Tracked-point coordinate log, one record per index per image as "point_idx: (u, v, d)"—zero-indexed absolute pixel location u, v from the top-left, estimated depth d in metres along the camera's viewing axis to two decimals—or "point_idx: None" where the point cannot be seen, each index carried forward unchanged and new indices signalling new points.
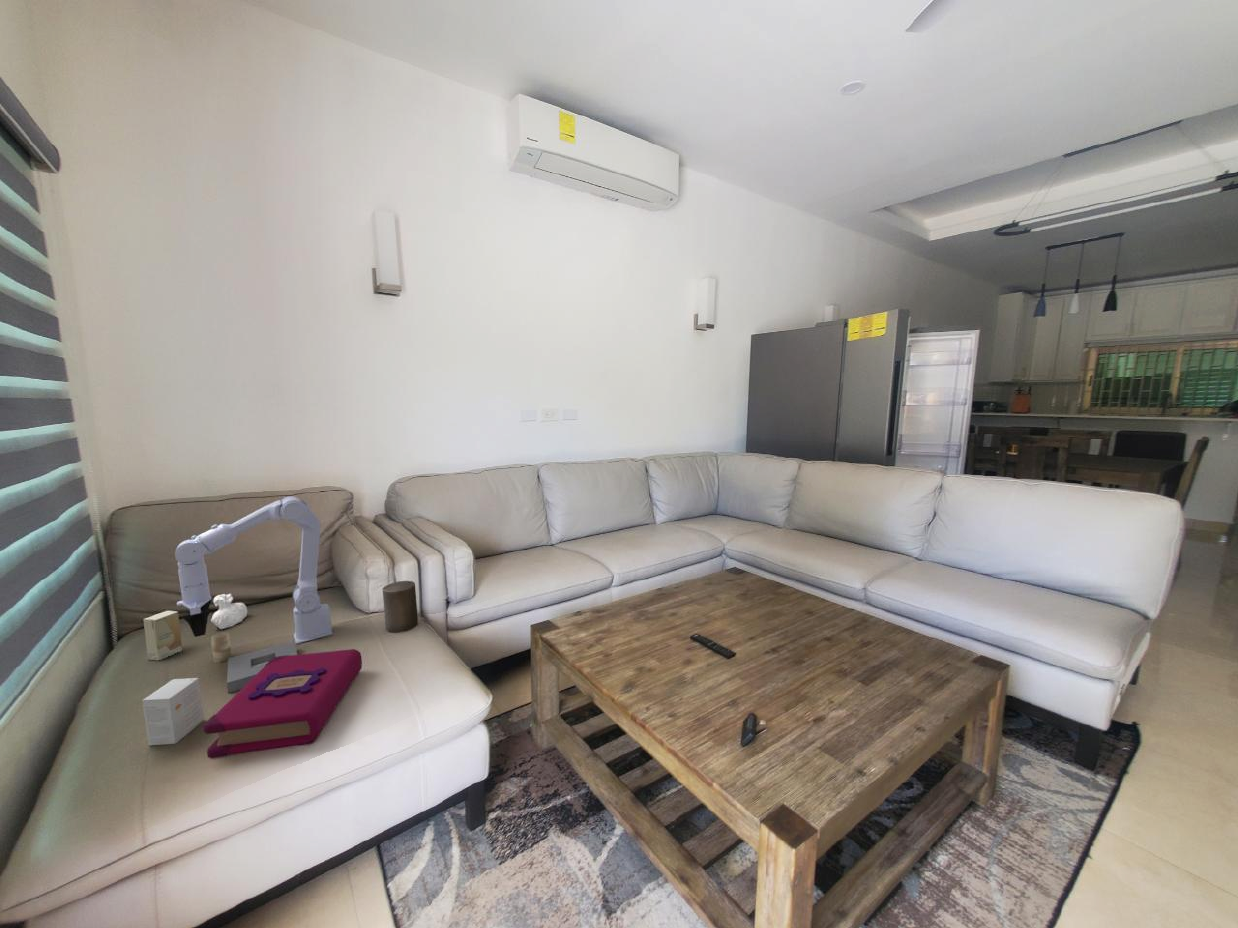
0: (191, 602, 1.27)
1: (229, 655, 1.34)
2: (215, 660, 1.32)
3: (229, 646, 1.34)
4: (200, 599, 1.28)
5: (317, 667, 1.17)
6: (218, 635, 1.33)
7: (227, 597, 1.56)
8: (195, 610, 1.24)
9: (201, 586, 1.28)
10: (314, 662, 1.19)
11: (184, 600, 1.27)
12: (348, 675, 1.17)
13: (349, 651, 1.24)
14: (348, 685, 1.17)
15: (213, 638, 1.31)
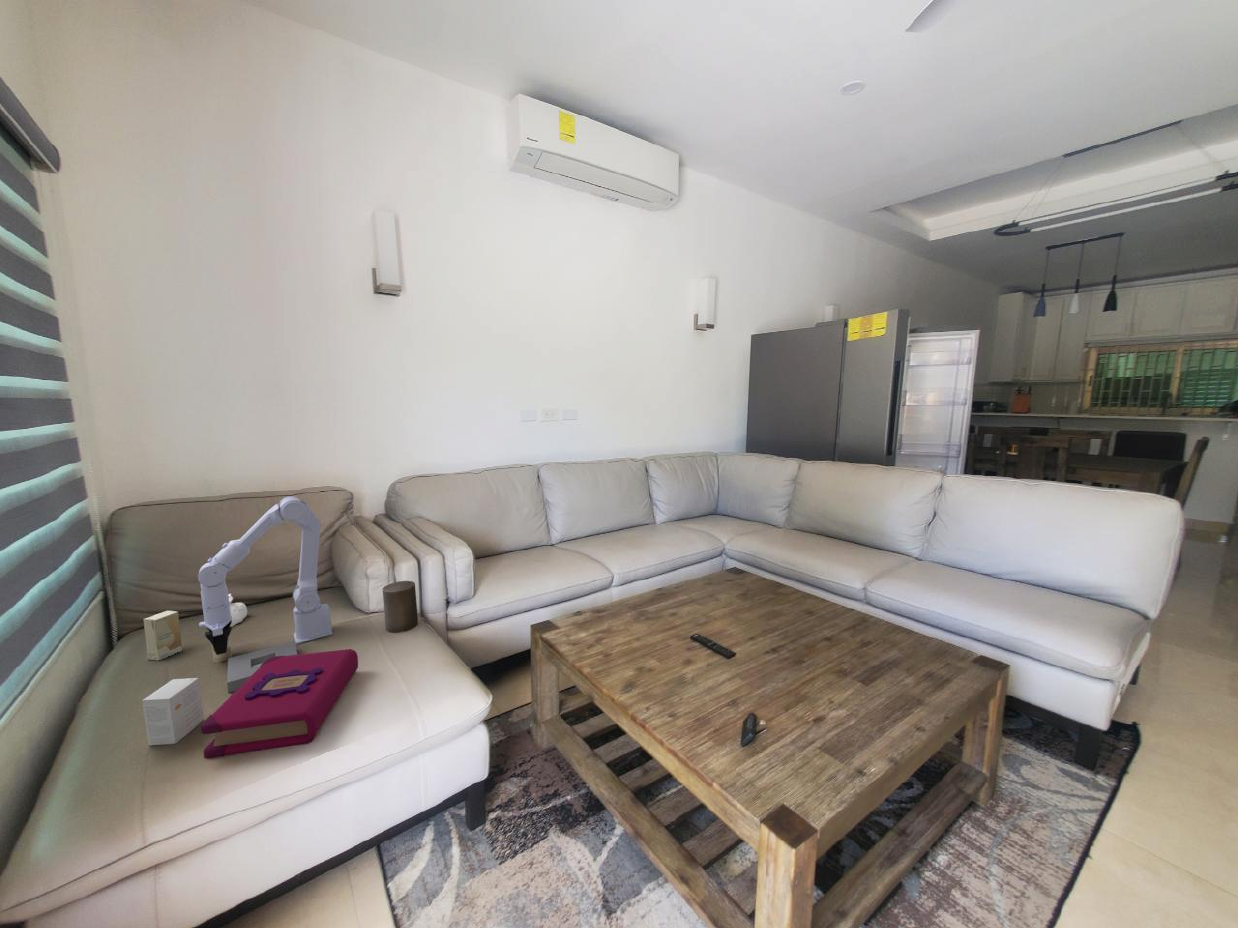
0: (213, 623, 1.30)
1: (229, 655, 1.34)
2: (215, 660, 1.32)
3: (229, 646, 1.34)
4: (222, 620, 1.31)
5: (314, 667, 1.16)
6: None
7: None
8: (217, 632, 1.27)
9: (223, 607, 1.31)
10: (310, 662, 1.19)
11: (206, 621, 1.30)
12: (345, 674, 1.17)
13: (345, 651, 1.24)
14: (345, 685, 1.17)
15: None
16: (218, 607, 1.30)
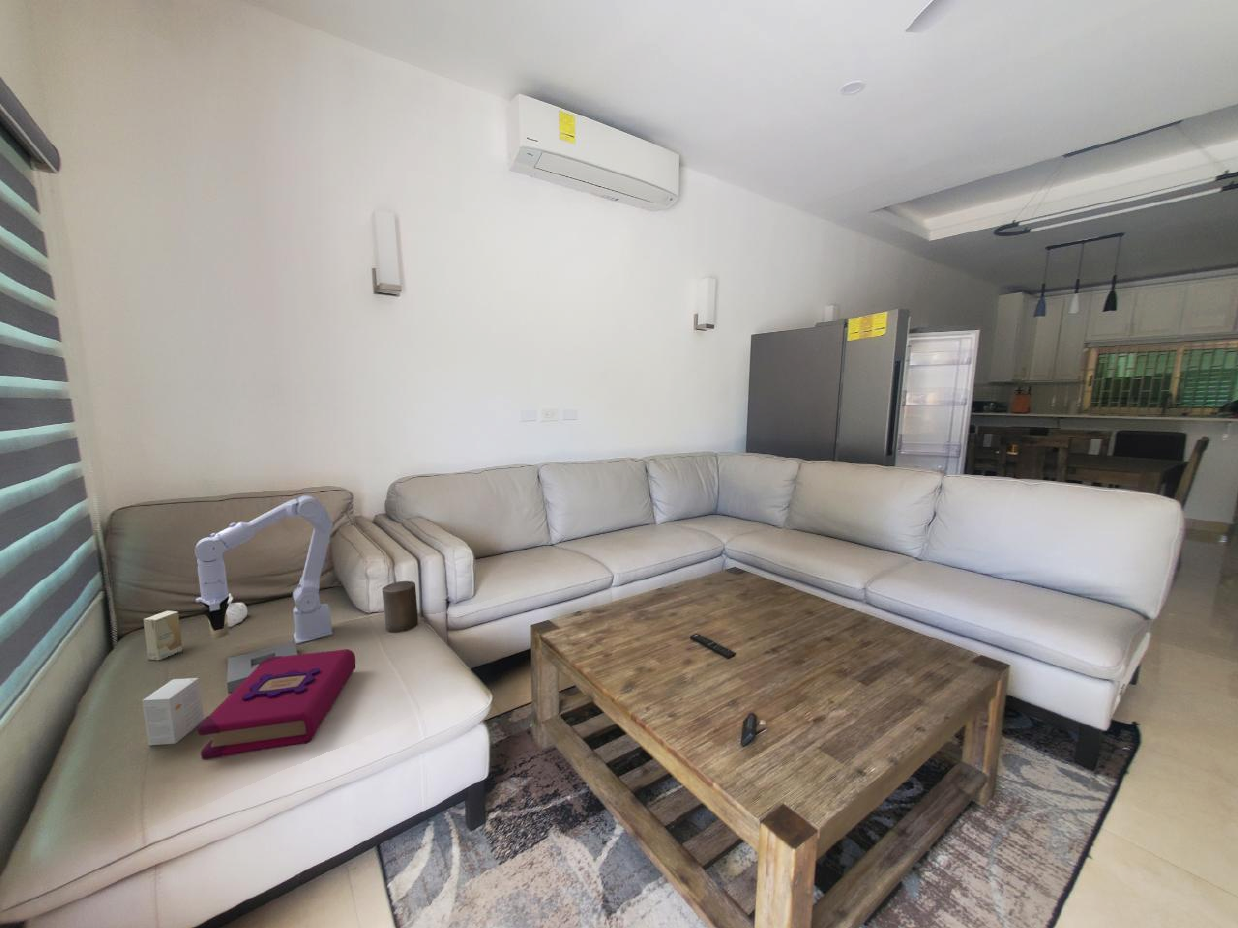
0: (210, 598, 1.29)
1: (226, 631, 1.33)
2: (212, 636, 1.31)
3: (226, 622, 1.33)
4: (219, 596, 1.30)
5: (311, 667, 1.16)
6: None
7: None
8: (214, 607, 1.26)
9: (220, 583, 1.30)
10: (307, 662, 1.19)
11: (203, 596, 1.29)
12: (342, 674, 1.17)
13: (342, 651, 1.24)
14: (342, 685, 1.17)
15: None
16: (215, 582, 1.29)
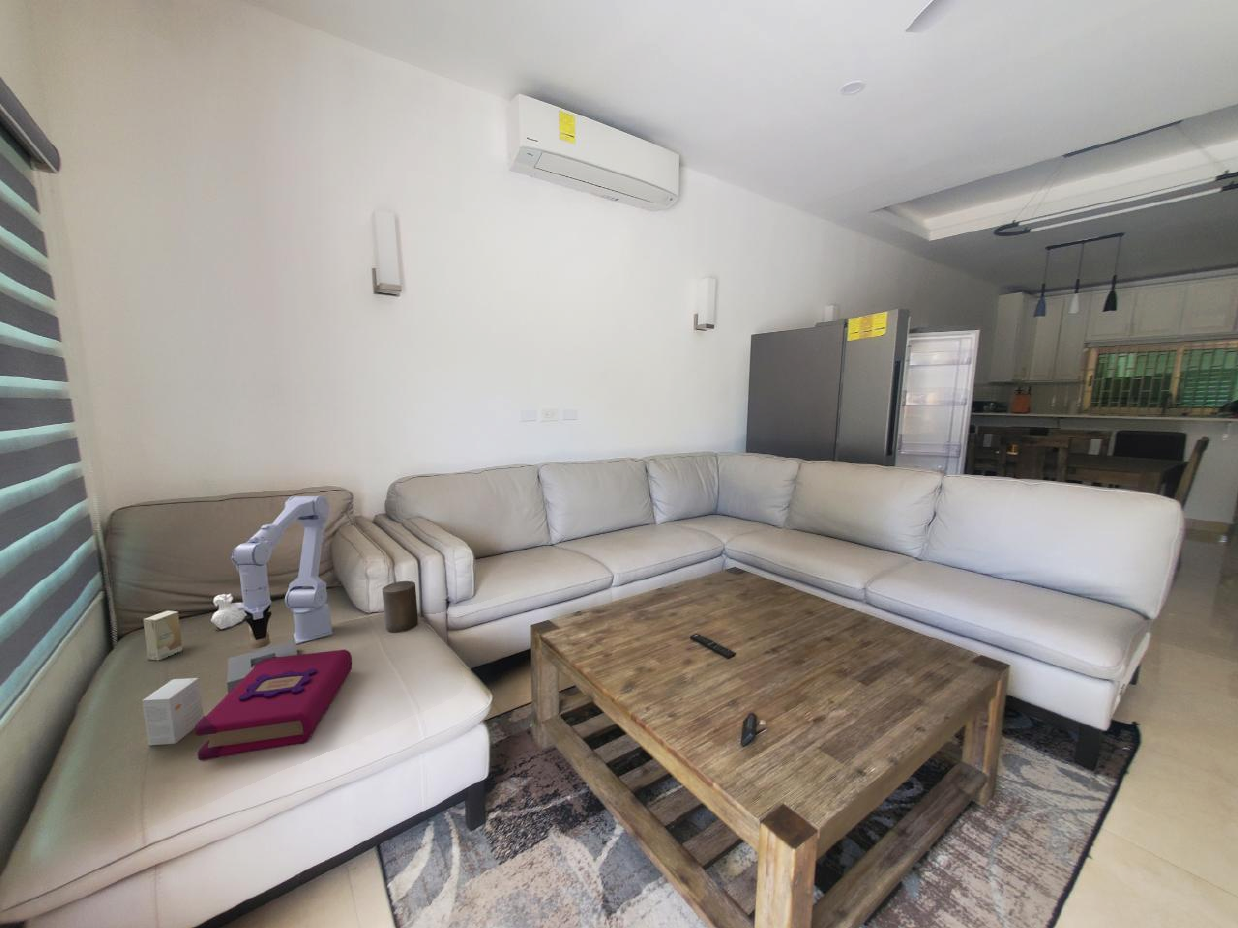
0: (252, 606, 1.23)
1: (267, 640, 1.27)
2: (253, 646, 1.25)
3: (267, 631, 1.27)
4: (261, 603, 1.24)
5: (308, 668, 1.16)
6: None
7: (227, 597, 1.56)
8: (257, 615, 1.20)
9: (262, 590, 1.24)
10: (304, 663, 1.19)
11: (245, 604, 1.23)
12: (339, 675, 1.17)
13: (339, 652, 1.24)
14: (339, 685, 1.17)
15: None
16: (258, 589, 1.23)
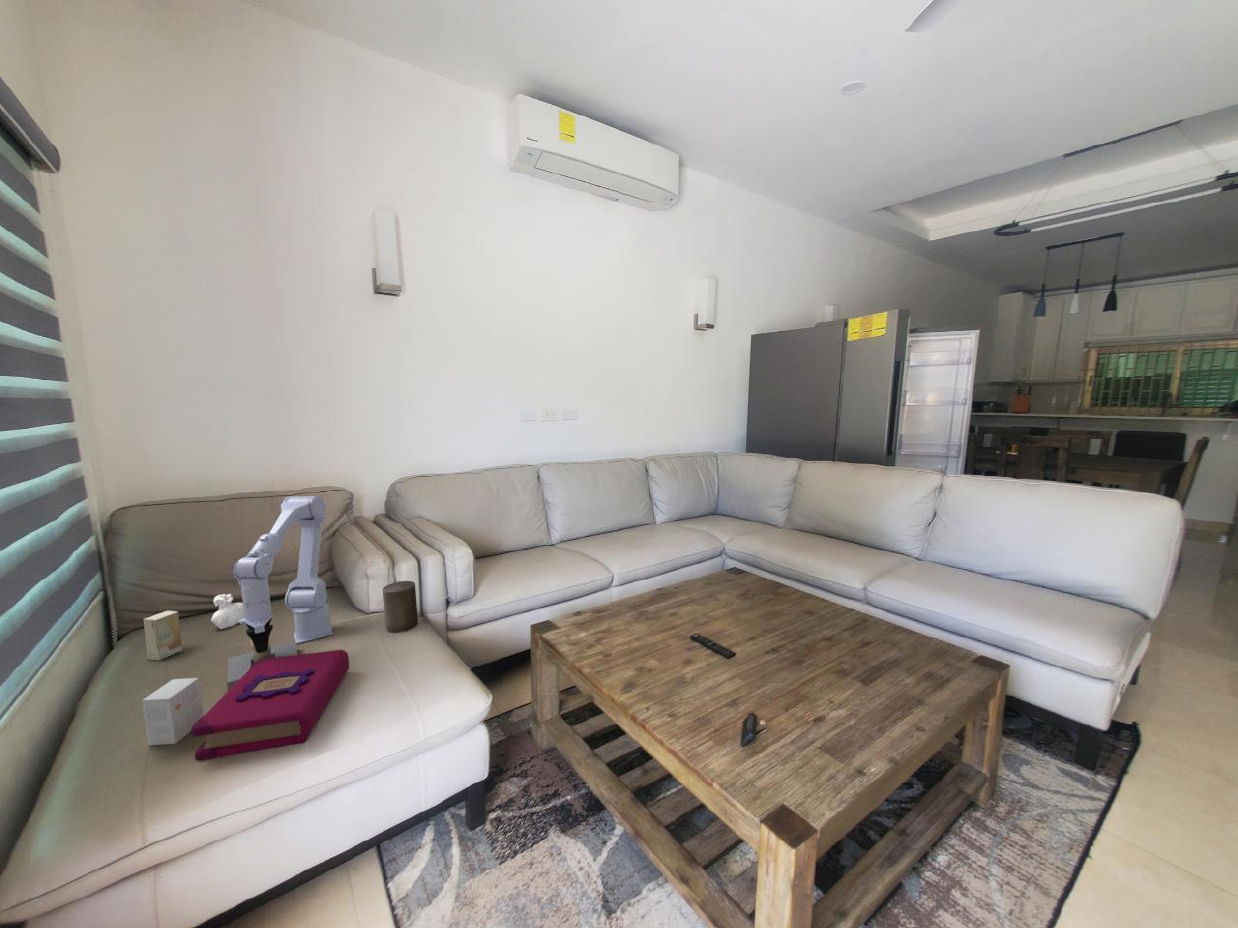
0: (254, 620, 1.23)
1: (268, 653, 1.27)
2: (254, 659, 1.25)
3: (268, 644, 1.27)
4: (263, 617, 1.25)
5: (305, 668, 1.16)
6: None
7: (227, 597, 1.56)
8: (259, 629, 1.21)
9: (264, 603, 1.25)
10: (300, 663, 1.18)
11: (247, 618, 1.23)
12: (336, 675, 1.17)
13: (336, 652, 1.24)
14: (336, 685, 1.17)
15: None
16: (259, 603, 1.24)
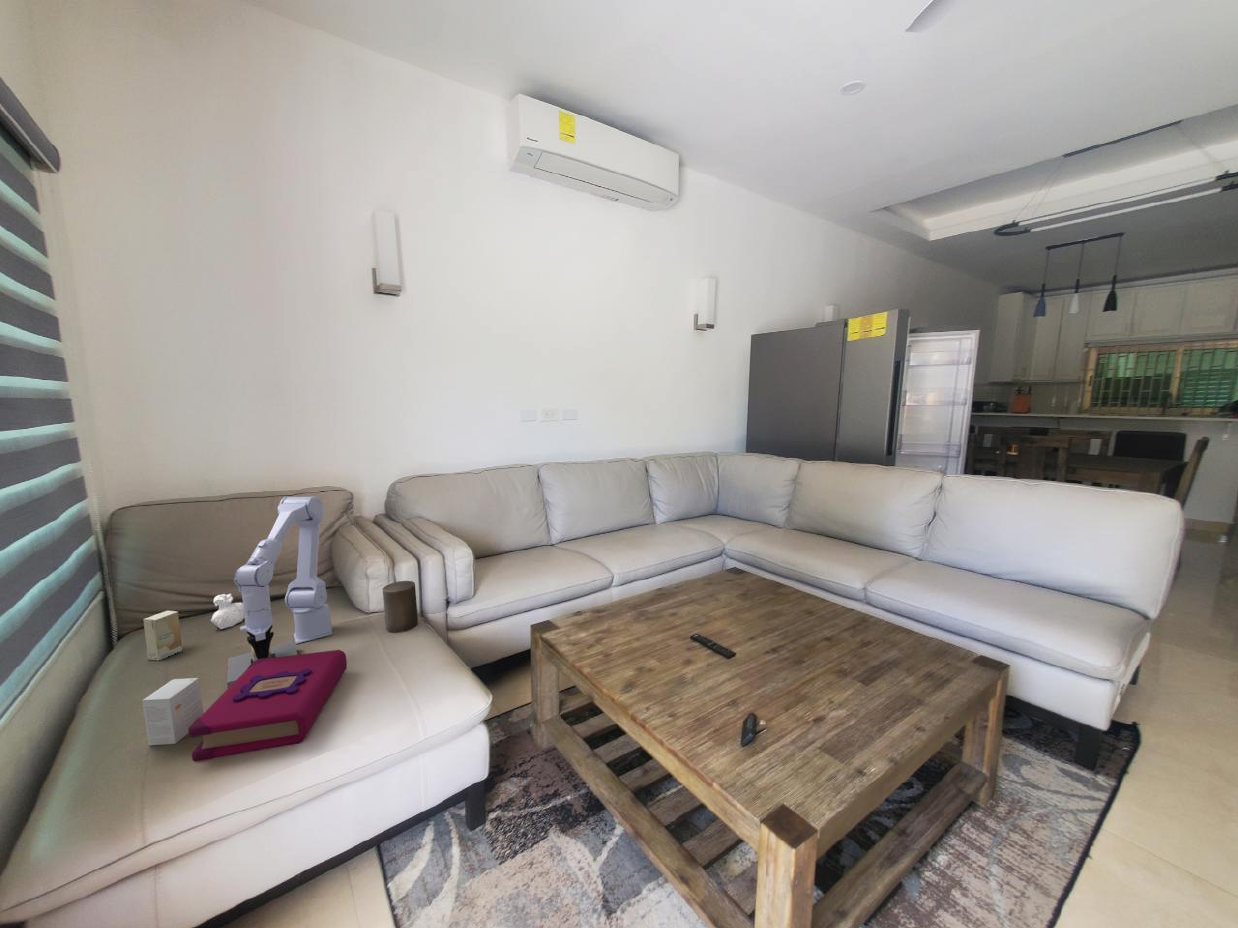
0: (255, 627, 1.24)
1: None
2: None
3: (269, 652, 1.28)
4: (263, 624, 1.25)
5: (302, 668, 1.16)
6: None
7: (227, 597, 1.56)
8: (260, 636, 1.21)
9: (265, 611, 1.25)
10: (298, 663, 1.18)
11: (248, 625, 1.24)
12: (334, 675, 1.17)
13: (333, 652, 1.24)
14: (334, 685, 1.17)
15: None
16: (260, 610, 1.24)
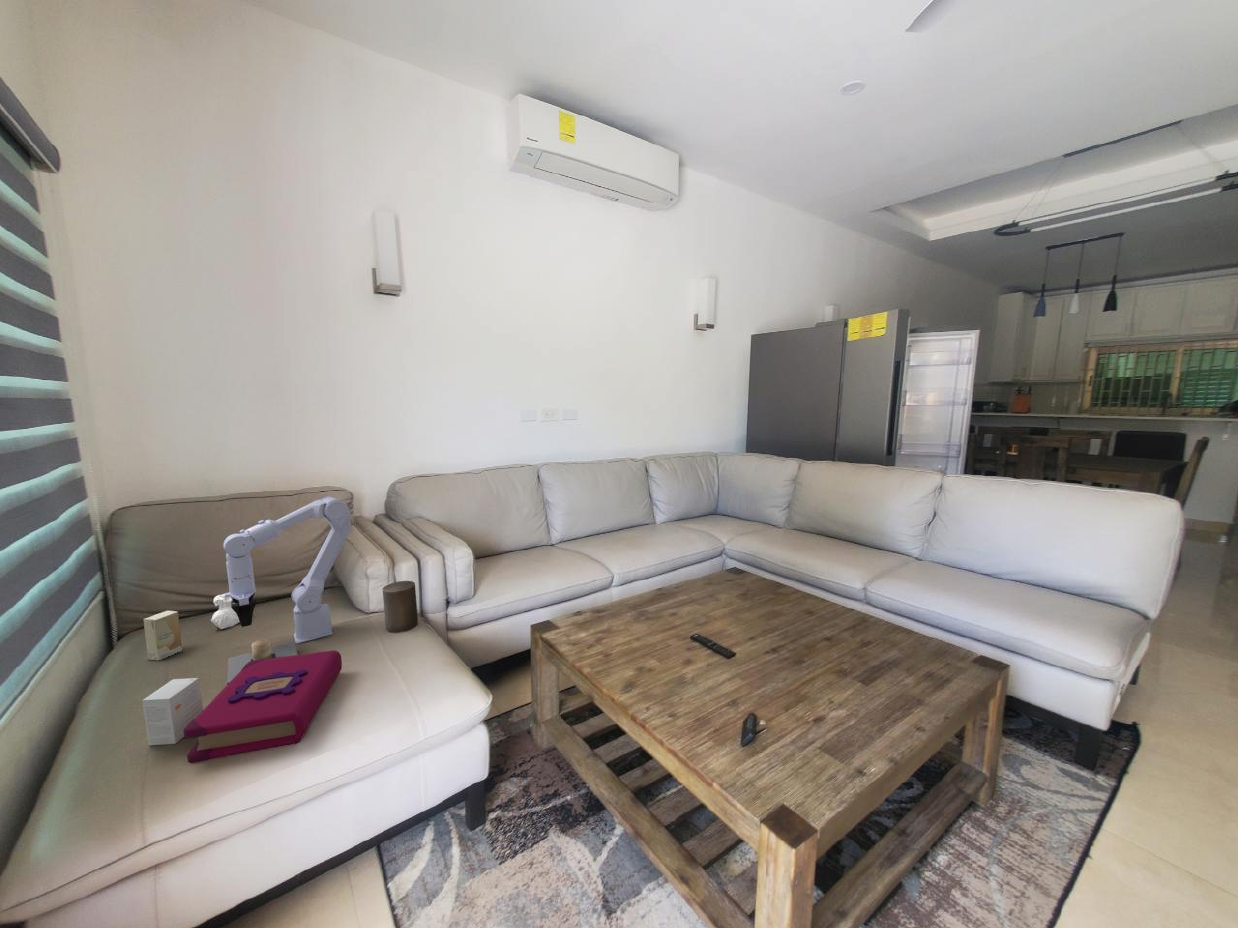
0: (238, 593, 1.32)
1: None
2: None
3: (270, 653, 1.28)
4: (247, 591, 1.33)
5: (297, 669, 1.16)
6: (259, 642, 1.27)
7: (227, 597, 1.56)
8: (243, 601, 1.29)
9: (248, 578, 1.33)
10: (293, 664, 1.18)
11: (232, 592, 1.32)
12: (330, 675, 1.17)
13: (328, 652, 1.23)
14: (330, 686, 1.17)
15: (253, 645, 1.25)
16: (243, 578, 1.32)
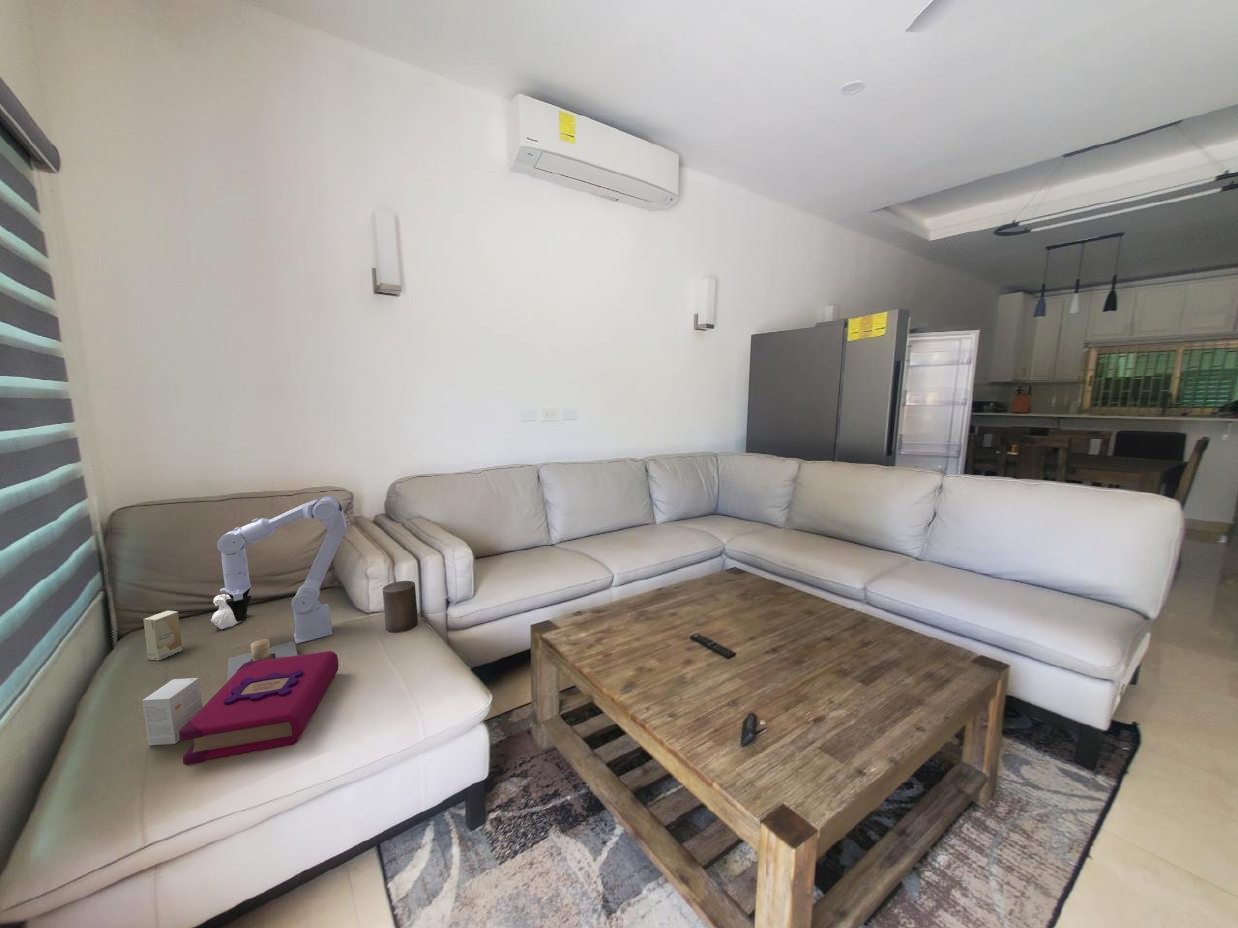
0: (233, 589, 1.35)
1: None
2: None
3: (269, 653, 1.28)
4: (241, 586, 1.36)
5: (294, 670, 1.15)
6: (258, 642, 1.27)
7: (227, 597, 1.56)
8: (238, 597, 1.32)
9: (242, 574, 1.37)
10: (289, 665, 1.18)
11: (227, 587, 1.35)
12: (326, 676, 1.17)
13: (325, 653, 1.23)
14: (326, 686, 1.16)
15: (253, 646, 1.25)
16: (238, 574, 1.36)
